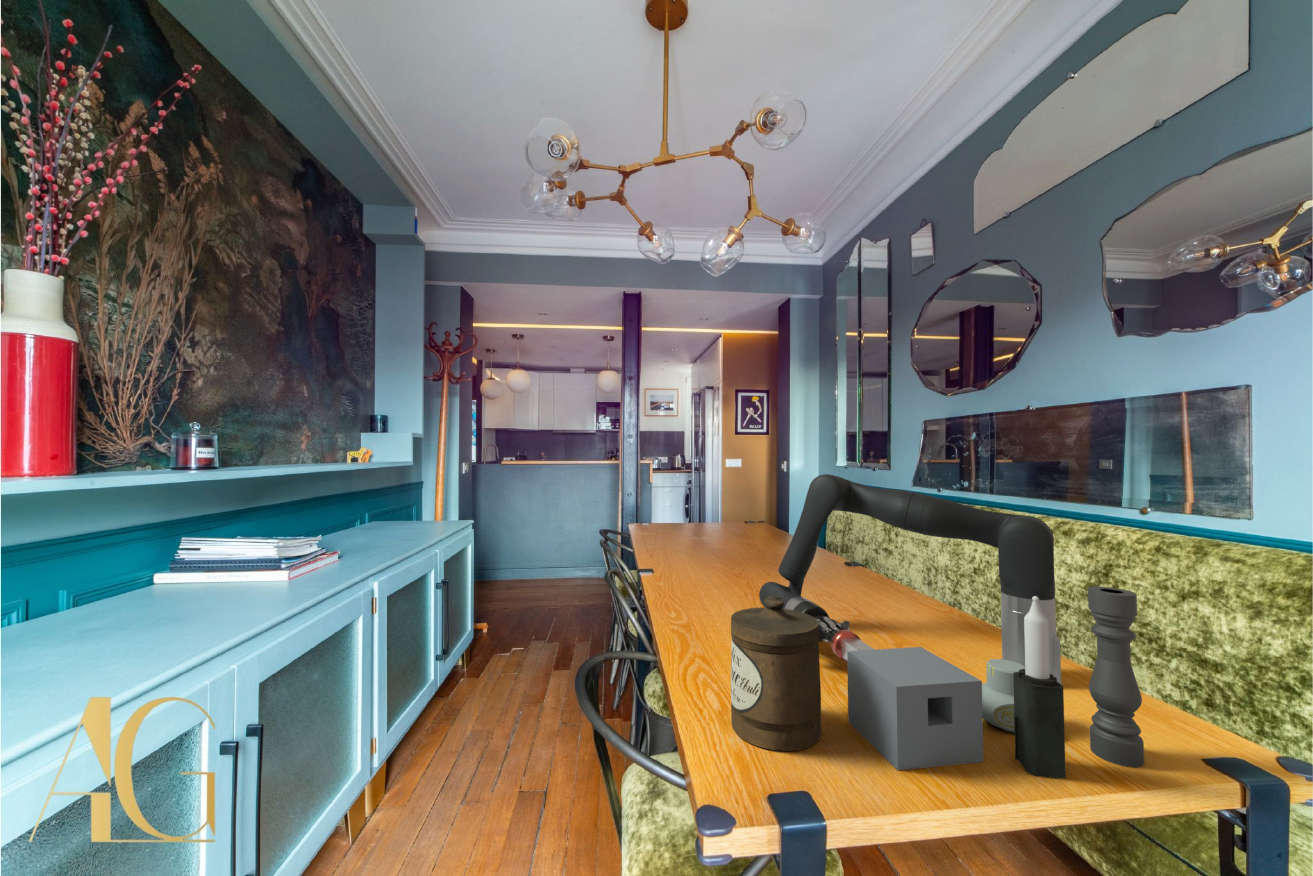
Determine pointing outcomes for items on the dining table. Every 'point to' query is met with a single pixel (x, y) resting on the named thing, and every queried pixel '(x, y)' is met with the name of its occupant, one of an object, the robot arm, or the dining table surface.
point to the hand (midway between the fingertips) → (842, 642)
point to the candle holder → (1114, 678)
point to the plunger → (847, 643)
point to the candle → (1038, 704)
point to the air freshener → (999, 693)
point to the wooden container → (775, 677)
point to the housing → (915, 707)
